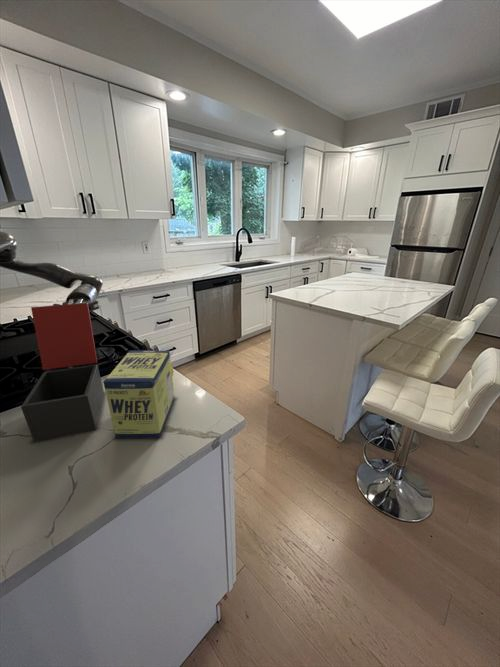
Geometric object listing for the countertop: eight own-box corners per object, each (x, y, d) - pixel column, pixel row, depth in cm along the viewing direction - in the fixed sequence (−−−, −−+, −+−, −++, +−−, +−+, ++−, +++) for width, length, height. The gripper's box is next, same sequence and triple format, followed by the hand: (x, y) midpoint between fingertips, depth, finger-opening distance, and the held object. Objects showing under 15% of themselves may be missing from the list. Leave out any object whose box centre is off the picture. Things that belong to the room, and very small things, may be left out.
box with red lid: (96, 429, 66) (87, 395, 63) (34, 442, 63) (20, 406, 59) (104, 393, 80) (97, 364, 76) (53, 402, 76) (43, 371, 72)
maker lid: (87, 303, 73) (87, 303, 74) (30, 307, 69) (32, 307, 70) (96, 363, 76) (97, 362, 76) (42, 370, 72) (44, 369, 73)
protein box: (115, 439, 64) (101, 381, 58) (138, 399, 78) (129, 349, 72) (160, 439, 64) (152, 381, 58) (175, 398, 78) (170, 349, 72)
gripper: (105, 308, 98) (98, 324, 83) (62, 311, 94) (46, 329, 78) (101, 287, 95) (93, 300, 80) (56, 289, 91) (39, 304, 76)
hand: (70, 315), depth 79 cm, fingers closed
